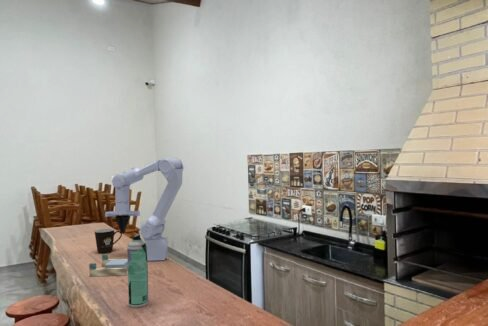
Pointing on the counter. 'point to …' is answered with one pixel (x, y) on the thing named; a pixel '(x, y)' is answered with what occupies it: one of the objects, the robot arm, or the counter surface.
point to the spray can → (137, 272)
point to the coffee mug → (105, 240)
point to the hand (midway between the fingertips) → (122, 232)
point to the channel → (106, 269)
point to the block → (117, 263)
